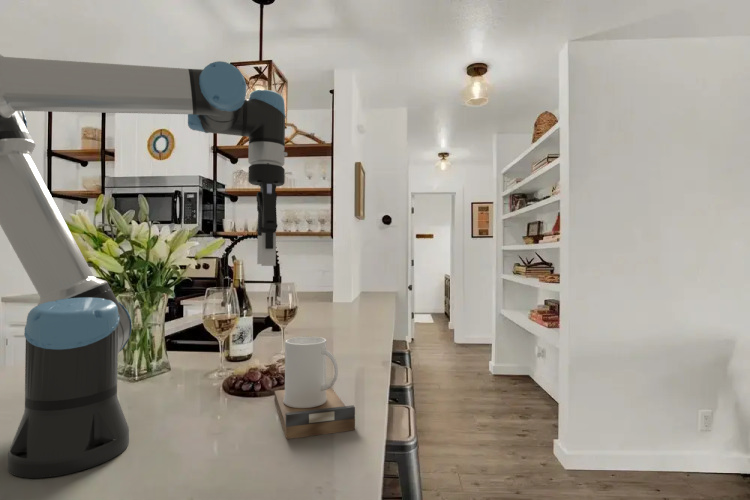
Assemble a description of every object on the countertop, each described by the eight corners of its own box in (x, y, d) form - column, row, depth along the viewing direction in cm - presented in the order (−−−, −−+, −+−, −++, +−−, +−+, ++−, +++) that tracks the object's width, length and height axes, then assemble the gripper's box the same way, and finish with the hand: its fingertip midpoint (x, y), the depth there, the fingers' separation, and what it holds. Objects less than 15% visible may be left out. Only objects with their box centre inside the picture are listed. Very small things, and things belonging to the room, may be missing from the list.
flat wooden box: (286, 439, 71) (286, 415, 71) (274, 400, 90) (274, 381, 90) (355, 430, 75) (355, 407, 75) (329, 394, 94) (330, 376, 94)
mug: (348, 402, 83) (349, 341, 83) (319, 415, 76) (319, 348, 76) (304, 391, 90) (305, 334, 90) (274, 402, 83) (274, 341, 83)
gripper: (292, 154, 80) (291, 266, 80) (278, 177, 104) (277, 263, 104) (251, 151, 78) (250, 266, 78) (246, 175, 101) (245, 263, 101)
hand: (265, 265), depth 91 cm, fingers open, 13 cm apart
